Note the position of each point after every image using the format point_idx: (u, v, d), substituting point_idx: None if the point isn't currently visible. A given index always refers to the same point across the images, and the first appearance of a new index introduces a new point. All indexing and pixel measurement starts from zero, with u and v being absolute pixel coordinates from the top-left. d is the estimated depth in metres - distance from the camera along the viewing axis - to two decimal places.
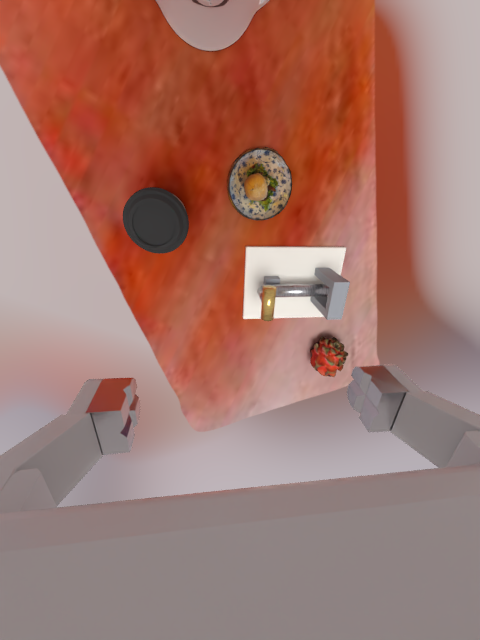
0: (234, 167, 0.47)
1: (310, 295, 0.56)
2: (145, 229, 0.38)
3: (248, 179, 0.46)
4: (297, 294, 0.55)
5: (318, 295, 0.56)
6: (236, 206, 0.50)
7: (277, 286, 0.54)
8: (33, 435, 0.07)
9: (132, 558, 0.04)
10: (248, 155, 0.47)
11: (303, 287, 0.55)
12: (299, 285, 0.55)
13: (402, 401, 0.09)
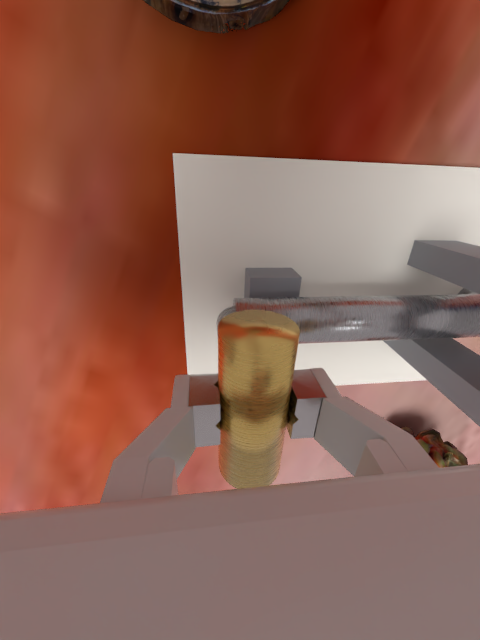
0: None
1: (411, 336, 0.15)
2: None
3: None
4: (366, 336, 0.15)
5: (438, 336, 0.16)
6: None
7: (293, 305, 0.14)
8: (150, 427, 0.07)
9: (132, 558, 0.04)
10: None
11: (389, 309, 0.15)
12: (374, 301, 0.15)
13: (320, 407, 0.09)
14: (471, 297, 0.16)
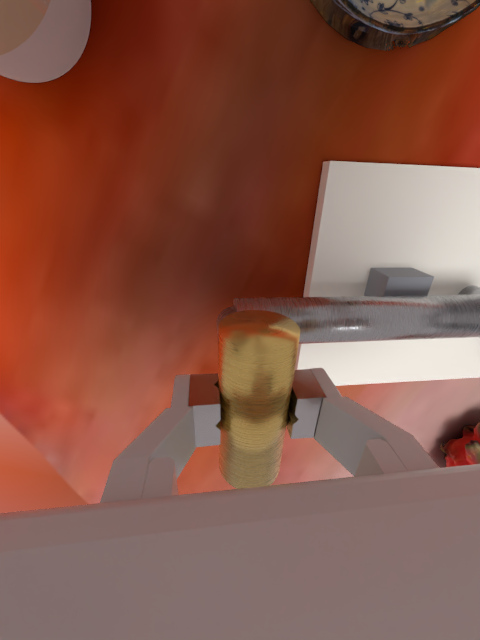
0: None
1: (411, 337, 0.15)
2: None
3: None
4: (366, 336, 0.15)
5: (438, 336, 0.16)
6: None
7: (293, 305, 0.14)
8: (150, 427, 0.07)
9: (132, 558, 0.04)
10: None
11: (389, 309, 0.15)
12: (374, 301, 0.15)
13: (320, 407, 0.09)
14: (471, 297, 0.16)
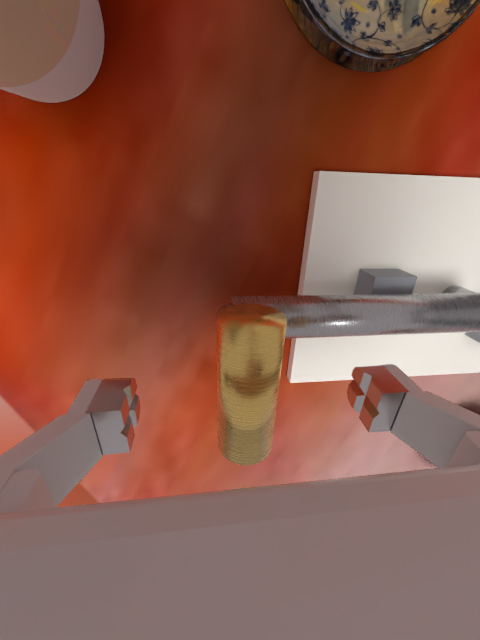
0: None
1: (395, 331, 0.17)
2: None
3: None
4: (354, 331, 0.16)
5: (420, 331, 0.17)
6: None
7: (286, 302, 0.15)
8: (33, 435, 0.07)
9: (132, 558, 0.04)
10: None
11: (374, 306, 0.16)
12: (360, 298, 0.16)
13: (402, 401, 0.09)
14: (451, 295, 0.17)
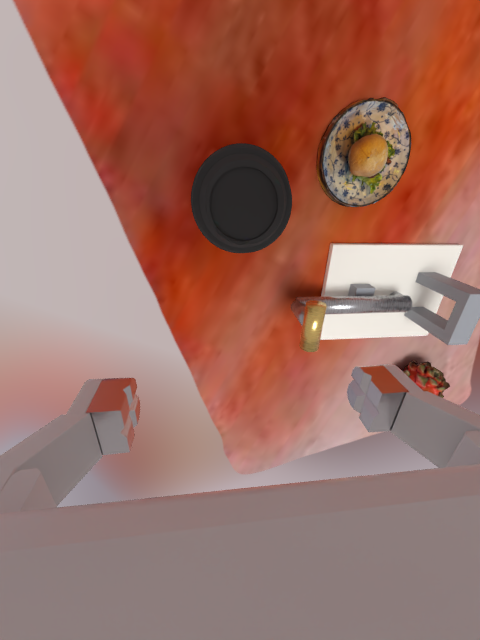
0: (334, 127, 0.32)
1: (364, 311, 0.40)
2: (228, 213, 0.23)
3: (360, 143, 0.31)
4: (347, 311, 0.39)
5: (375, 311, 0.40)
6: (328, 186, 0.35)
7: (319, 299, 0.39)
8: (33, 435, 0.07)
9: (132, 558, 0.04)
10: (355, 110, 0.32)
11: (355, 301, 0.39)
12: (350, 298, 0.39)
13: (402, 401, 0.09)
14: (388, 296, 0.40)
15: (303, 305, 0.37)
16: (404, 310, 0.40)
